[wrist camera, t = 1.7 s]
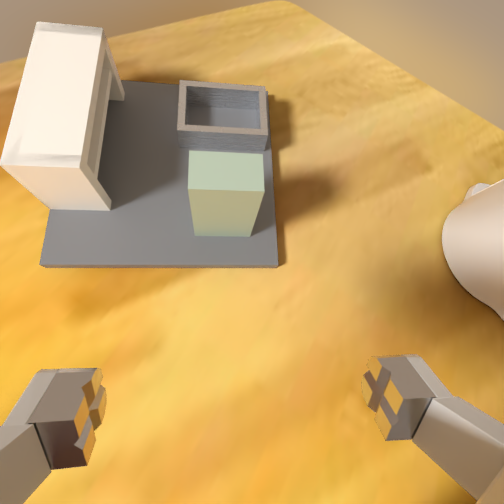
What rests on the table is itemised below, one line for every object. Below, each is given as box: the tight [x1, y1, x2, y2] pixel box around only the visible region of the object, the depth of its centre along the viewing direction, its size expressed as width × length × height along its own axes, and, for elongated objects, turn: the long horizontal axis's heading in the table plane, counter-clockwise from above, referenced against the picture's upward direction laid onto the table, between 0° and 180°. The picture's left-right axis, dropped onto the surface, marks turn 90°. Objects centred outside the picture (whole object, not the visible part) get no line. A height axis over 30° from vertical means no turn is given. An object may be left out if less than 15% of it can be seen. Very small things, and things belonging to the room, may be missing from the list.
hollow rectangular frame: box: [177, 80, 268, 152], centre depth 36 cm, size 10×7×3 cm
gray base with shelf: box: [0, 22, 278, 268], centre depth 32 cm, size 24×24×9 cm
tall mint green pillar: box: [188, 150, 265, 237], centre depth 29 cm, size 6×4×10 cm
